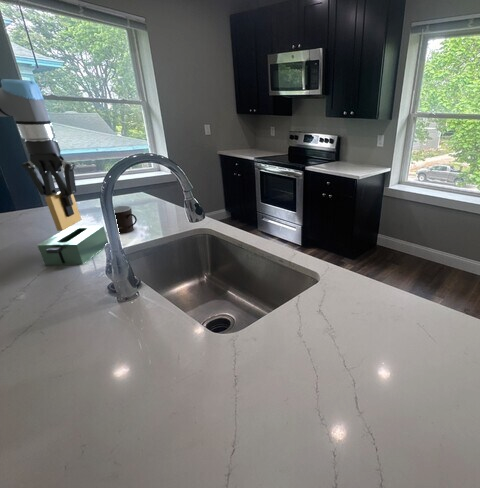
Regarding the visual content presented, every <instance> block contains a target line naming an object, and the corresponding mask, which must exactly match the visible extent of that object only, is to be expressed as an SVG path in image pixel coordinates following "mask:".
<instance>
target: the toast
mask: <svg viewBox="0 0 480 488" xmlns="http://www.w3.org/2000/svg"><path fill="white" fill-rule="evenodd" d="M56 192H57V193H54V194H52V195H49V196H47V195H46V196H44V199H45V201H46V204H47V207H48V210H49V213H50V215H51V217H52V220H53V223H54V226H55V228H56V231H57V232H61V231H63V230H65V229H67V228H68V227H70V226H75V225H76V224H77V223H79V222H80V221H82V217H81V213H80V211H79V207H78V204H77V202H76V198H75V195H74V194H71V198H72V201H73V205H72V208H73V211H74V214H73V215H72V216H70V217H67V216H66V213H65V210H64V208H63V205H62V202H61V199H60V197H61V195H62V194H61V192H60V190H58V191H56Z"/></svg>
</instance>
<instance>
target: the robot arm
mask: <svg viewBox="0 0 480 488" xmlns="http://www.w3.org/2000/svg"><path fill="white" fill-rule="evenodd" d="M0 84H1V85H0V117H1V118H2V117H4V118H5V117H7V118H13V119H14V122H15V124H16V127H17V130H18V132H19V135H20V138H21V139H23V140H24V141H23V145H24V148H25V151H26V153H27V154H28V155H29V160H28V161H27V162H23V163H22V164H21V167H22V168H24V169H25V171H27V173H28V175H29V176H30V179H31V180H32V182H33V184H34V185H35V187H36V189H37V190H38V192H39V194H40V195H41V196H46V197H47V196H49V195H52V194H54V193H57V192H58V191H60V192H61V194H62V195H61V197H60V199H61V202H62V205H63V208H64V210H65V213H66V216H67V217H70V216H72V215H73V214H74V211H73V208H72V205H73V201H72V198H71V194H73V195H74V194H76V193H77V185H76V179H75V171H74V169H75V165H76V164H75V163H74V162H69V161H67V160H65V159H64V157H63V156H62V155H61V148H60V145H59V142H58V140H56V139H55V138H56V137H57V136H56V134H55V131H54V127H53V125H52V122H51V120H50V116H49V112H48V110H47V105H46V103H45V98H44V96H43V94H42V92H41V89H40V86H39V84H38V83H36V82H35V81H33V80H26V79H12V78H11V79H10V78H2V79H1V80H0ZM62 168H63V169H62ZM54 181H55V182H54ZM55 183H56V185H57V187H58V191H57V189H56V185H55Z"/></svg>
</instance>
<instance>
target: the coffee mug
mask: <svg viewBox="0 0 480 488" xmlns="http://www.w3.org/2000/svg"><path fill="white" fill-rule="evenodd" d="M113 207H114V210H115V215H116V219H117V224H118V228H119V232H120V234H119V235H126V234H130V233H132V232H133V231H135V229H134V225H135V224H137V222H138V218H137V216H136V215H134V213H133V209H132V206H130V205H115V206H113ZM133 218H134V220H133Z"/></svg>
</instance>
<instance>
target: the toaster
mask: <svg viewBox="0 0 480 488" xmlns="http://www.w3.org/2000/svg"><path fill="white" fill-rule="evenodd" d="M106 243H109V239H108V236H107V232H106V230H105V226H104V225H72V226H70V227H68V228H67V229H65V230H63V231H58V232H57V233H56V234H54V235H53V236H50V237H49V238H47V239H45V240H44V241H42V242H40V243H39V244H37V248H38V251H39V254H40V255H41V258H42V260H43V262H44V263H43V264H44V265H45V266H72V265H73V266H74V265H78V266H79V265H85V264H86V263H87V262H88V261H90V259H92V258H93V257H94V256H96V255H98V254H99V253H101V252H102V251H103V250H104V249H105V248H106V247H105V244H106ZM50 247H62V249H63V250H62V251H61V252H59V253H50V254H47V252H46V250H47V249H49V248H50Z"/></svg>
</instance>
